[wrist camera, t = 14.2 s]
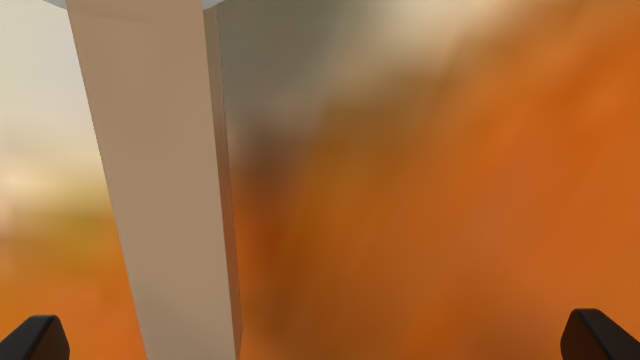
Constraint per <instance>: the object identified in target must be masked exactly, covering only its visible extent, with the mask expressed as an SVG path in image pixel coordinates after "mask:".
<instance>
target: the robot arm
mask: <svg viewBox="0 0 640 360" xmlns="http://www.w3.org/2000/svg"><path fill="white" fill-rule="evenodd" d="M560 348H561V354H562V357H563V360H640V342H639V341H637V340H636V339H635V338H634V337H632V336H631V335H630V334H629V333H627V332H626V331H625V330H624V329H622V328H621V327H620V326H619V325H617V324H616V323H615V322H614V321H613V320H611V319H610V318H609V317H608V316H606V315H605V314H604V313H603V312H601V311H600V310H598V309H593V308H586V309H574V310H573V311H572V312H571V314H570V316H569V319H568V321H567V324H566V327H565V329H564V332H563V335H562V337H561V342H560ZM69 355H70V348H69V343H68V341H67V338H66V335H65V332H64V330H63V327H62V324H61V321H60V319H59V318H58V317H57V316H56V315H33V316H31V317H29V318H28V319H26V320H25V321H24V322H23V323H22V324H21V325H19V326H18V327H17V328H16V329H15V330H14V331H12V332H11V333H10V334H9V335H8V336H7V337H6V338H4V339H3V340H2V341H1V342H0V360H69Z"/></svg>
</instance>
